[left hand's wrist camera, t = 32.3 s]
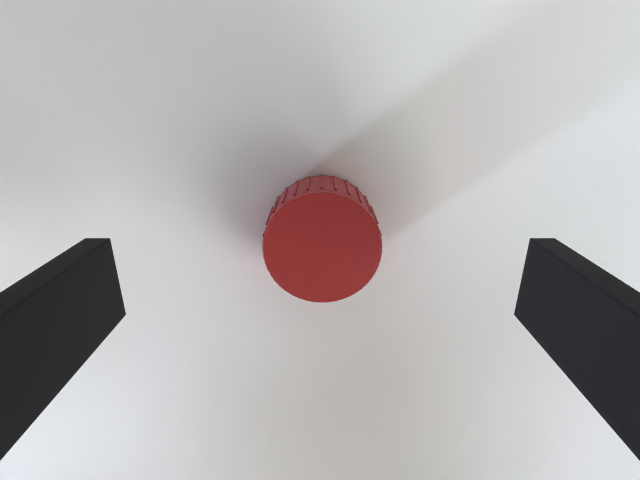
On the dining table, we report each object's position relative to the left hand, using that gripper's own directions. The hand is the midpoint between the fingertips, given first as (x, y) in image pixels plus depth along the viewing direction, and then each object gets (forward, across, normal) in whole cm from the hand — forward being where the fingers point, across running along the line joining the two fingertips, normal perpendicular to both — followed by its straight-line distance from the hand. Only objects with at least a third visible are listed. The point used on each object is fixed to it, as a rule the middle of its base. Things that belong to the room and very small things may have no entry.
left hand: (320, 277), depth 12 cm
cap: (+4, 0, 0) cm, 4 cm away
